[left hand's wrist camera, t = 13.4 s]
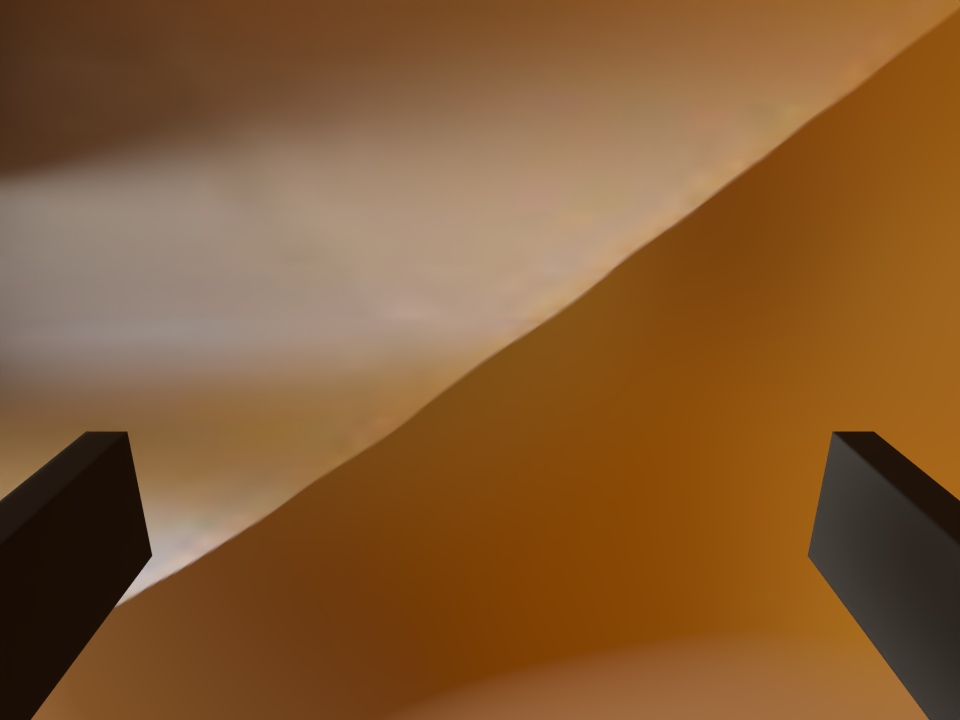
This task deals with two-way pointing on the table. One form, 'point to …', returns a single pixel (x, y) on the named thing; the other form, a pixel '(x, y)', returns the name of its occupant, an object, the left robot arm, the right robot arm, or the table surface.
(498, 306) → the table surface
